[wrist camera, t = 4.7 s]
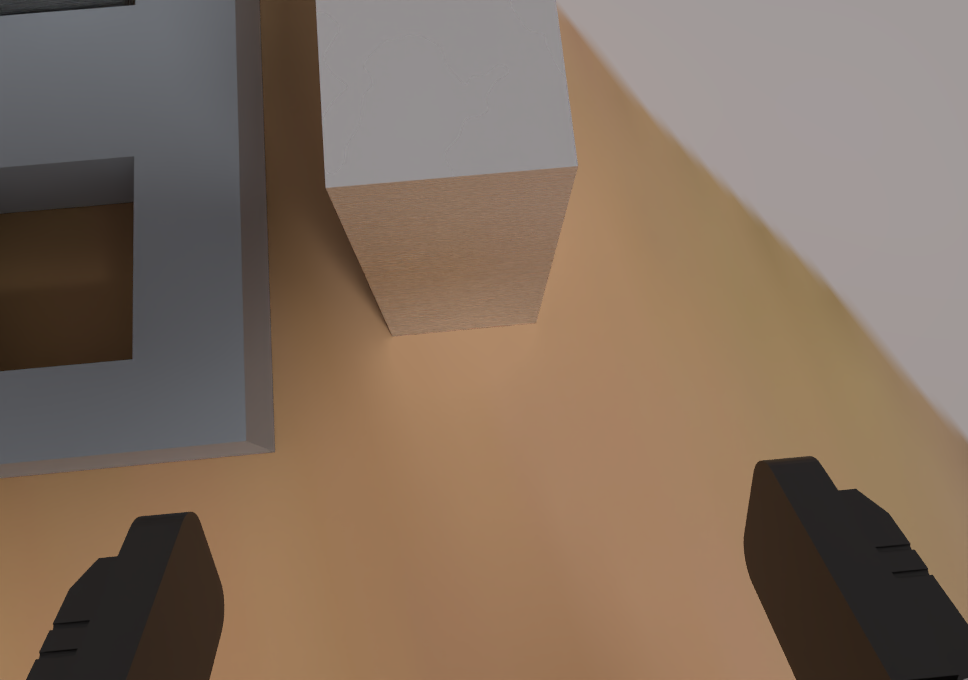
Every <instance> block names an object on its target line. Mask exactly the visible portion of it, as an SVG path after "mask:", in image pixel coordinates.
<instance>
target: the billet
mask: <svg viewBox="0 0 968 680" xmlns="http://www.w3.org/2000/svg"><path fill="white" fill-rule="evenodd" d="M316 16H317V35H318V54H319V73H320V92H321V111H322V130H323V149H324V168H325V187H326V190H327V192H328V194H329V197H330V199H331V201H332V203H333V206H334V208H335V210H336V212H337V214H338V217H339V219H340V221H341V223H342V226H343V228H344V230H345V232H346V234H347V237H348V239H349V241H350V243H351V245H352V248H353V250H354V252H355V254H356V257H357V259H358V261H359V263H360V265H361V268H362V270H363V272H364V274H365V277H366V279H367V281H368V283H369V285H370V288H371V290H372V292H373V294H374V296H375V299H376V301H377V303H378V305H379V308H380V310H381V312H382V314H383V316H384V319H385V321H386V323H387V325H388V327H389V330H390V332H391V334H392V336H402V335H413V334H424V333H435V332H446V331H456V330H467V329H478V328H489V327H500V326H511V325H522V324H533V323H536V321H537V317H538V314H539V310H540V306H541V303H542V299H543V295H544V291H545V288H546V284H547V280H548V276H549V273H550V269H551V265H552V261H553V258H554V254H555V250H556V246H557V243H558V239H559V235H560V231H561V228H562V224H563V220H564V217H565V213H566V209H567V205H568V202H569V198H570V194H571V190H572V187H573V183H574V179H575V175H576V172H577V168H578V163H577V155H576V148H575V140H574V133H573V125H572V118H571V110H570V103H569V95H568V88H567V81H566V73H565V66H564V58H563V51H562V43H561V36H560V28H559V21H558V13H557V6H556V0H316Z"/></svg>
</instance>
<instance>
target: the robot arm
mask: <svg viewBox="0 0 968 680" xmlns="http://www.w3.org/2000/svg"><path fill="white" fill-rule="evenodd" d="M744 554H745V561H746V565H747V569H748V573H749V576H750V579H751V581H752V584H753V586H754V588H755V590H756V592H757V594H758V597H759V599H760V601H761V603H762V605H763V608H764V610H765V612H766V614H767V616H768V619H769V621H770V623H771V625H772V627H773V630H774V632H775V634H776V636H777V638H778V641H779V643H780V645H781V647H782V649H783V652H784V654H785V656H786V658H787V660H788V663H789V665H790V667H791V669H792V671H793V674H794V676H795V678H796V680H968V624H967V623H966V621H965V620H964V618H963V617H962V616H961V614H960V613H959V611H958V610H957V609H956V607H955V606H954V604H953V603H952V602H951V600H950V599H949V597H948V596H947V595H946V593H945V592H944V590H943V589H942V587H941V586H940V585H939V583H938V582H937V580H936V579H935V578H934V576H933V575H929V573H928V568H927V566H926V565H925V564H924V562H923V561H922V559H921V558H920V557H919V555H918V554H917V552H916V551H915V550H912V549H911V547H910V543H909V541H908V540H907V538H906V537H905V535H904V534H903V533H902V531H901V530H900V528H899V527H898V526H897V524H896V523H895V521H894V520H893V519H892V517H891V516H890V514H889V513H888V512H886V511H885V510H883V509H882V508H881V507H879V506H878V505H877V504H875V503H874V502H873V501H871V500H870V499H869V498H867V497H866V496H865V495H863V494H862V493H861V492H859V491H858V490H857V489H850V490H839V491H838V490H837V488H836V487H835V485H834V484H833V482H832V480H831V479H830V477H829V476H828V474H827V473H826V471H825V470H824V468H823V467H822V465H821V464H820V463H819V461H818V460H817V459H816V458H814V457H812V456H806V457H796V458H785V459H774V460H763V461H759V462H758V463H757V464H756V466H755V469H754V473H753V480H752V486H751V493H750V500H749V506H748V513H747V519H746V526H745V532H744ZM223 620H224V595H223V589H222V585H221V581H220V578H219V575H218V573H217V570H216V567H215V564H214V561H213V558H212V555H211V552H210V549H209V546H208V543H207V540H206V537H205V534H204V531H203V529H202V526H201V523H200V520H199V518H198V516H197V515H196V514H195V513H194V512H184V513H173V514H162V515H151V516H141V517H138V518H136V519H135V520H134V522H133V523H132V525H131V527H130V529H129V531H128V534H127V536H126V538H125V541H124V543H123V545H122V547H121V550H120V552H119V554H118V556H117V557H106V558H99V559H98V560H97V561H96V562H95V563H94V564H93V565H92V566H91V567H90V568H89V569H88V570H87V571H86V572H85V573H84V574H83V575H82V576H81V578H80V579H79V580H78V581H77V582H76V583H75V584H74V585H73V586H72V587H71V588H70V589H69V591H68V593H67V595H66V597H65V600H64V602H63V604H62V606H61V608H60V610H59V612H58V614H57V616H56V618H55V620H54V623H53V630H50V631H49V633H48V635H47V637H46V639H45V641H44V643H43V645H42V648H41V650H40V652H39V653H40V657H39V659H36V660H35V662H34V664H33V666H32V668H31V671H30V673H29V675H28V677H27V679H26V680H209V679H210V675H211V671H212V667H213V663H214V659H215V655H216V651H217V647H218V644H219V640H220V636H221V632H222V627H223Z"/></svg>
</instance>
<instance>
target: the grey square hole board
mask: <svg viewBox="0 0 968 680" xmlns="http://www.w3.org/2000/svg"><path fill="white" fill-rule="evenodd" d="M130 202H134V236H133V359H130V360H119V361H108V362H97V363H86V364H75V365H64V366H53V367H42V368H32V369H21V370H10V371H0V478H7V477H18V476H28V475H39V474H49V473H60V472H70V471H81V470H91V469H102V468H112V467H123V466H133V465H144V464H154V463H165V462H175V461H186V460H196V459H207V458H218V457H228V456H239V455H249V454H260V453H270V452H275V438H274V409H273V379H272V350H271V320H270V291H269V261H268V231H267V202H266V172H265V143H264V113H263V84H262V54H261V25H260V0H135V5H131V6H118V7H106V8H93V9H81V10H68V11H56V12H43V13H31V14H18V15H6V16H0V214H2V213H14V212H25V211H37V210H49V209H60V208H72V207H83V206H95V205H106V204H118V203H130Z"/></svg>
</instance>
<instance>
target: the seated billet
mask: <svg viewBox="0 0 968 680" xmlns="http://www.w3.org/2000/svg"><path fill="white" fill-rule="evenodd" d="M131 5H135V0H0V16H6V15H18V14H31V13H43V12H56V11H68V10H81V9H93V8H106V7H118V6H131Z"/></svg>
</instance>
